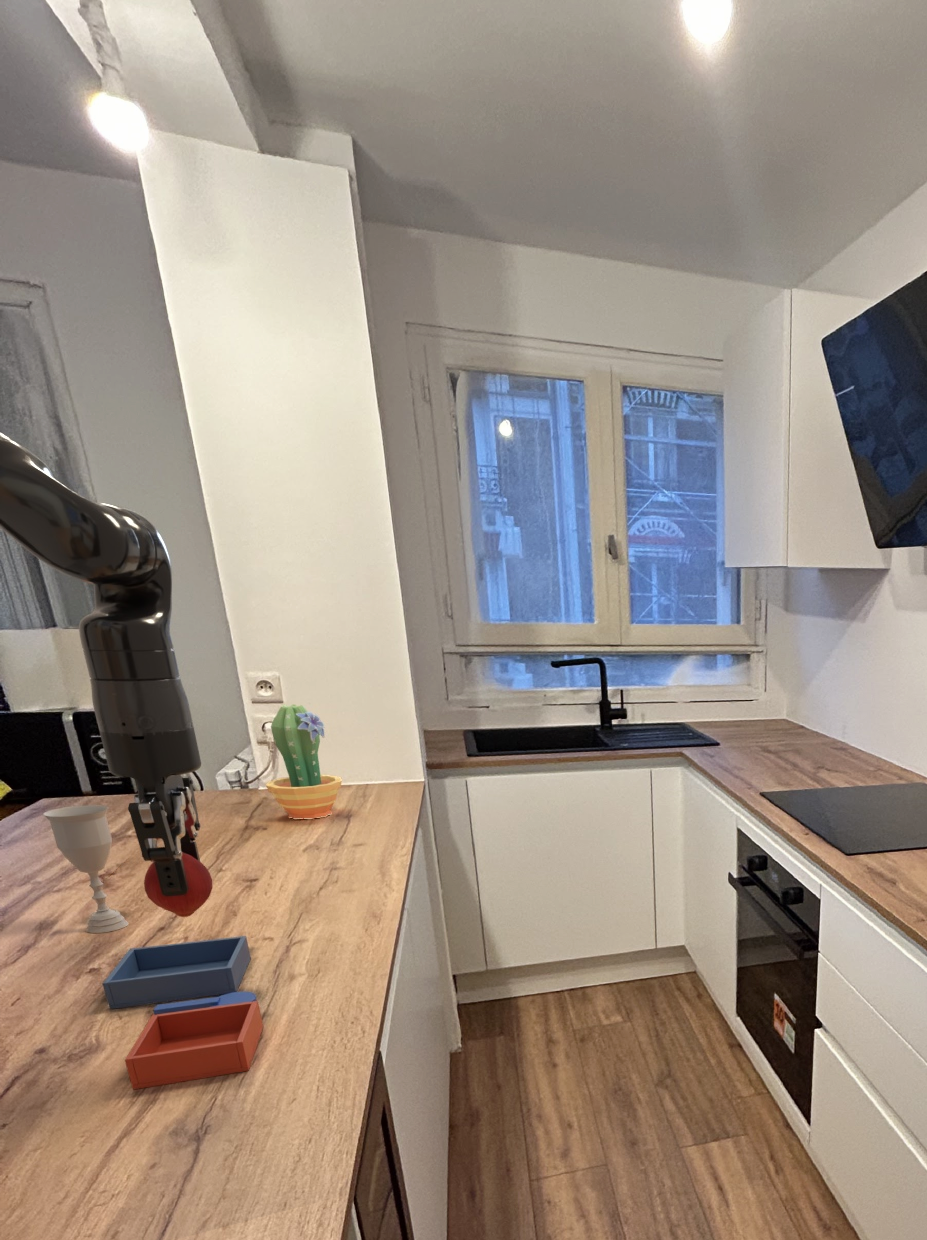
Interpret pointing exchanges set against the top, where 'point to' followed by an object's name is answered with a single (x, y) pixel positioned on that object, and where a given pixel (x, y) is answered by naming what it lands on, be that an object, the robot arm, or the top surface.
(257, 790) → the top surface
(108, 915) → the chalice
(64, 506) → the robot arm
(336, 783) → the potted cactus
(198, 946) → the blue bin
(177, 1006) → the blue paddle
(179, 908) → the onion
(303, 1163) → the top surface
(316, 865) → the top surface
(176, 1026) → the terracotta bin
